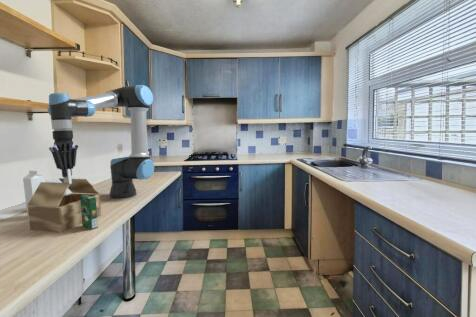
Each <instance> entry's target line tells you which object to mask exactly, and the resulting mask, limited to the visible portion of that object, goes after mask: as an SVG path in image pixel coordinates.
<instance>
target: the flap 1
mask: <svg viewBox="0 0 476 317" xmlns="http://www.w3.org/2000/svg"><path fill="white" fill-rule="evenodd" d="M69 185H70V183H49V182H41V183H40V184H39V186H38V188H37V189H36V191H35V193H34V195H33V196H32V198H31V200H30V202H29V203H28V205H29V206H47V207H58V206H59V204H60V202H61V200H62V198H63V196H64V194H65V192H66V193H67V191H68V190H69V189H68V187H69Z"/></svg>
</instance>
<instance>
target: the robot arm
mask: <svg viewBox="0 0 476 317" xmlns="http://www.w3.org/2000/svg"><path fill="white" fill-rule="evenodd" d="M153 101H154V95H153V93H152V91H151V89H150V88H149V87H148V86H147V85H145V84H137V85H130V86H121V87H117V88H115V89H111V90H107V91H105V92H104V93H101V94H94V95H89V96H84V97H77V98H70V95H69V94H68V93H64V92H63V93H62V92H54V93H53V92H52V93H50V94H49V95H48V105H49V108H48V107H47V112H48V114H49V115H50V120H51V121H50V122H51V123H50V124H51V130H53V131H51V132H52V133H51V134H52V139H53V140H54V142H53V145H52V146H51V147H50V146H49V148H48V150H49V151H50V152H51V154H52V158H53V161H54V164H55V167H56V169H57V170H60V171H61V175H62V178H64V183H70V184H72V179H73V178H72V176H73V171H72V169H74V167H76V164H77V152H78V151H77V150H78V149H79V145H78V144H74V141H73V139H74V131H73V130H72V129H73V121H72V120H73V119H72V118H77V117H83V118H84V117H85V118H87V117H93V116H94V115H95V113H96V111H97V110H101V109H106V108H111V109H112V108H114V109H115V108H121V107H122V108H123V107H125V108H126V107H127V109H128V111H129V112H130V137H131V138H130V139H131V141H130V142H131V145H130V148H131V151H130V152H131V153H130V154H129V156H124V157H123V156H122V157H117V158H112V159H111V160H110V165H109V167H110V175H111V185H110V186H111V187H110V191H109V197H110V199H111V198H112V199H124V198H129V197H134V196H136V195H137V189H136V186H135V183H134V181H133V180H139V181H140V180H141V181H142V180H148V179H149V178H151V177H152V175H153V173H154V171H155V163H154V162H153V160H152V159H151V156H150V155H149V154H148V141H147V140H148V135H147V133H148V132H147V128H148V127H147V112H148V111H149V110H150V106H151V105H152V104H153V103H154V102H153Z"/></svg>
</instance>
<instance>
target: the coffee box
mask: <svg viewBox="0 0 476 317" xmlns="http://www.w3.org/2000/svg"><path fill="white" fill-rule="evenodd" d="M80 201H81V212H82V226H83V227H84V228H88V229H90V230H95V229H98V228H99V224H98V217H97V208H96V197H92V196H89V195H82V196H80Z"/></svg>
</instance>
